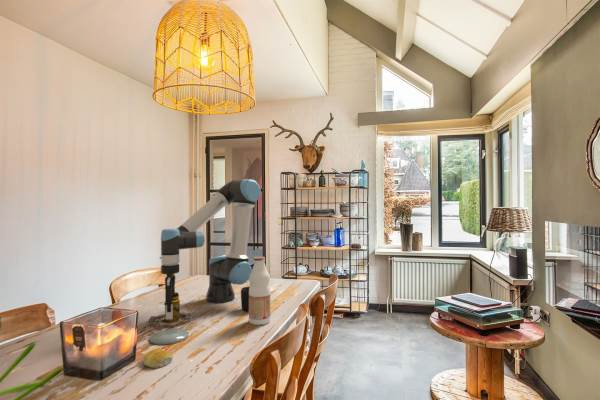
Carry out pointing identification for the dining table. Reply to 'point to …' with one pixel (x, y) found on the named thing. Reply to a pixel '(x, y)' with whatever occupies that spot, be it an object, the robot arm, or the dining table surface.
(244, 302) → the pen holder
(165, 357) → the mossy stone
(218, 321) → the dining table surface
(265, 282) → the fruit juice
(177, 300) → the condiment
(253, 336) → the dining table surface
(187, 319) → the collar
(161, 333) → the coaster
